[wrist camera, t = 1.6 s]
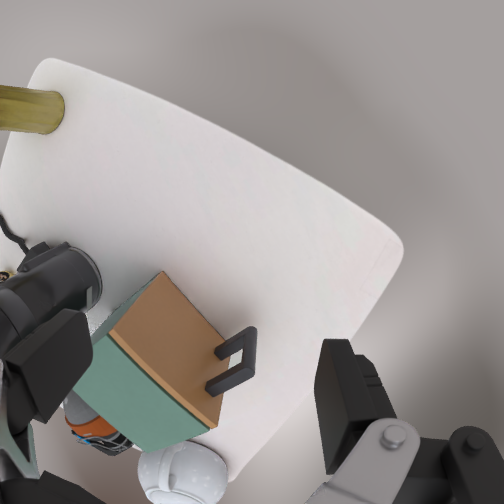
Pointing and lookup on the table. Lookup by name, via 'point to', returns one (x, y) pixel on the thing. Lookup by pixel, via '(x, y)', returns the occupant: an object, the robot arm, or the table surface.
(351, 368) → the robot arm
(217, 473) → the teapot
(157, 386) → the cupboard
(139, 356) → the door
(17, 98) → the vase
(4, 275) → the eyeshadow
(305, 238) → the table surface
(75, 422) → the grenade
